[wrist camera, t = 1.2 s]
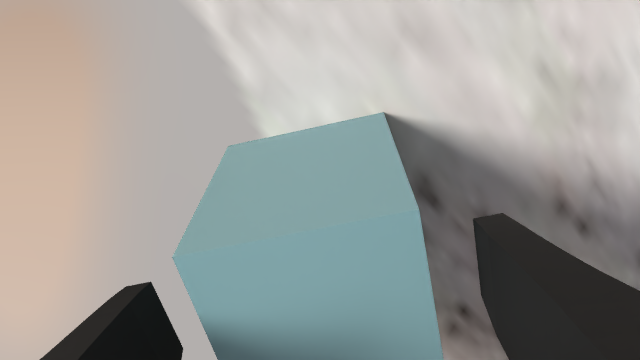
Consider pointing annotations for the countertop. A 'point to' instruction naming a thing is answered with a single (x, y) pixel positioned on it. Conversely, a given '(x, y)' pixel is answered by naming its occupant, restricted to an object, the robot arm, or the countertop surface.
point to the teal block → (312, 250)
